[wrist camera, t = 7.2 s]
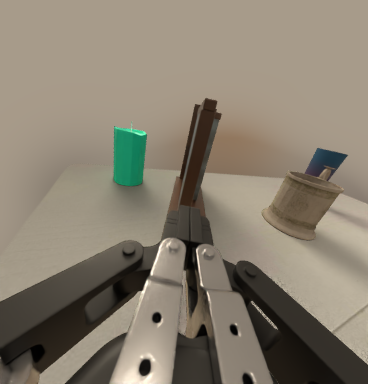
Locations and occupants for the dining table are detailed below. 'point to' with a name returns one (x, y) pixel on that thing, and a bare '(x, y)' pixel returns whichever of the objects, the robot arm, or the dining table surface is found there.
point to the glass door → (197, 150)
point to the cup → (324, 162)
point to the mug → (301, 203)
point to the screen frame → (197, 197)
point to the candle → (129, 156)
